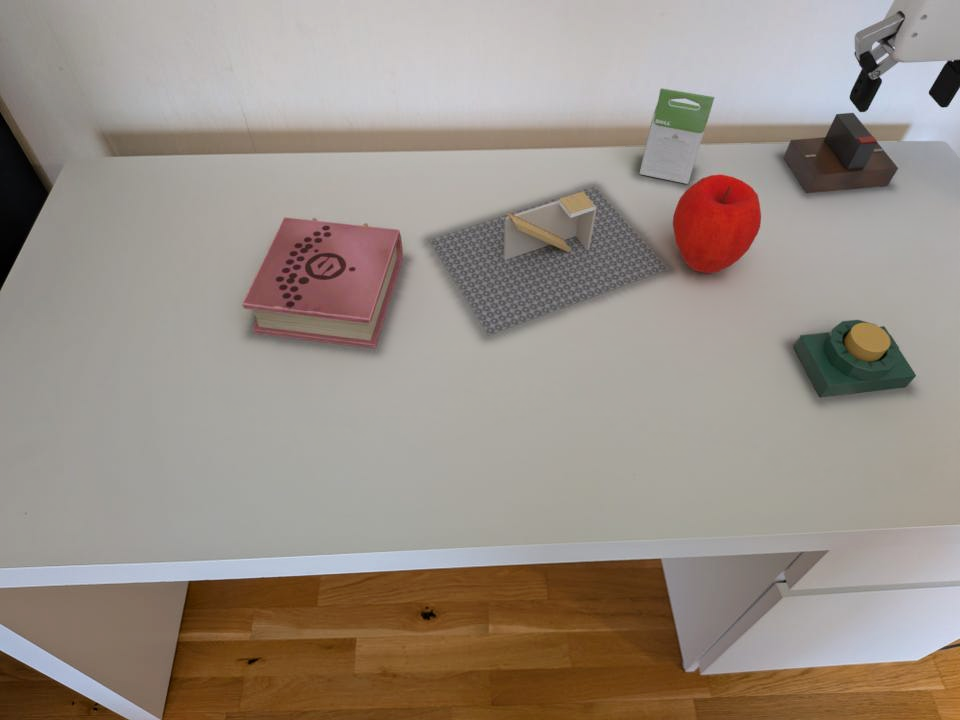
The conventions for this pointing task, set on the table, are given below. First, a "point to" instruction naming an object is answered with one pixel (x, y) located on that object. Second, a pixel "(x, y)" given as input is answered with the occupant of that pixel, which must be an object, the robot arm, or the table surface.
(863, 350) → the button
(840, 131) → the lock knob
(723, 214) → the apple
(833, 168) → the plate
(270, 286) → the book
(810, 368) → the box
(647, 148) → the ink box
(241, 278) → the table surface
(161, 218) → the table surface
